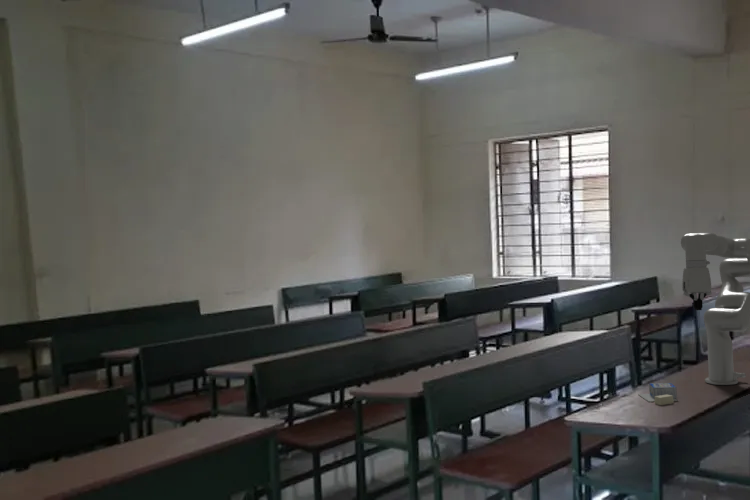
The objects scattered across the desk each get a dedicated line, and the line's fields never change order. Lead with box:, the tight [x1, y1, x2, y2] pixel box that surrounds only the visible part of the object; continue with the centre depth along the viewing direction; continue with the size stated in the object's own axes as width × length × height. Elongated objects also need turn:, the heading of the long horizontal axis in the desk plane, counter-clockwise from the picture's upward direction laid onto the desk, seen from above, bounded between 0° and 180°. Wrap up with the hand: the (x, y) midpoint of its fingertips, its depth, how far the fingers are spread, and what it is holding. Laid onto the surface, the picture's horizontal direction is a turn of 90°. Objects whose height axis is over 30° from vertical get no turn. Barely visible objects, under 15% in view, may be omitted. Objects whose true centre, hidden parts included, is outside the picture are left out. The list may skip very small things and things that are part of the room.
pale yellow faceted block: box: [654, 394, 674, 406], centre depth 272 cm, size 6×3×3 cm, turn 109°
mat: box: [638, 393, 678, 403], centre depth 280 cm, size 11×12×1 cm
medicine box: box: [648, 382, 678, 399], centre depth 281 cm, size 8×4×9 cm
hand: (698, 309), depth 287 cm, fingers closed
